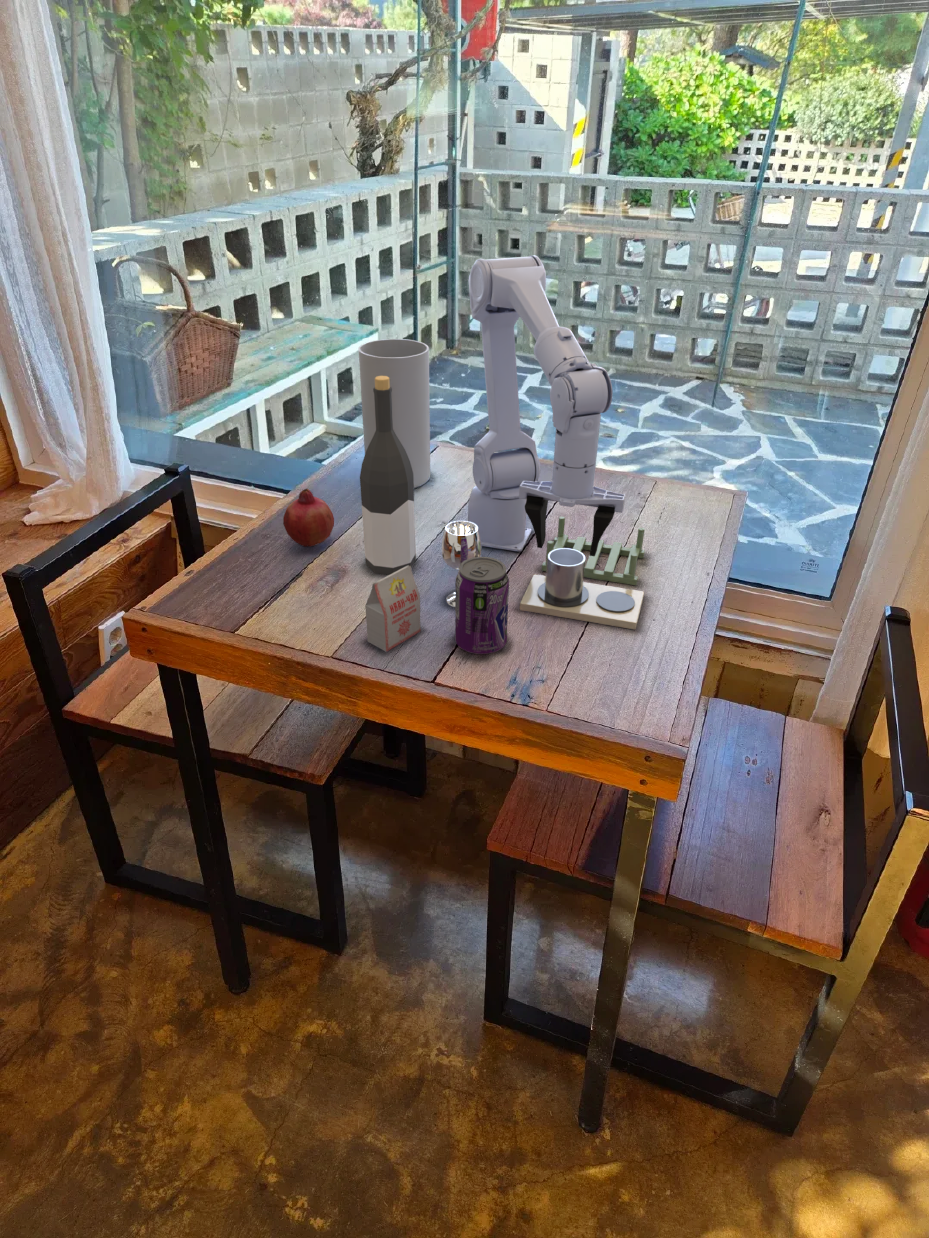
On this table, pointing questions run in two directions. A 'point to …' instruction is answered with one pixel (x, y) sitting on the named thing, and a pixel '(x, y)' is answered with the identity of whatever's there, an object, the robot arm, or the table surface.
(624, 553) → the rack
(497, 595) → the beverage can
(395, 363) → the cylinder vase
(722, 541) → the table surface
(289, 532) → the fruit
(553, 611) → the hob
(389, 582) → the tea bag
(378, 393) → the wine bottle
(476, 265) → the robot arm
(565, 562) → the pot
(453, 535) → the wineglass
